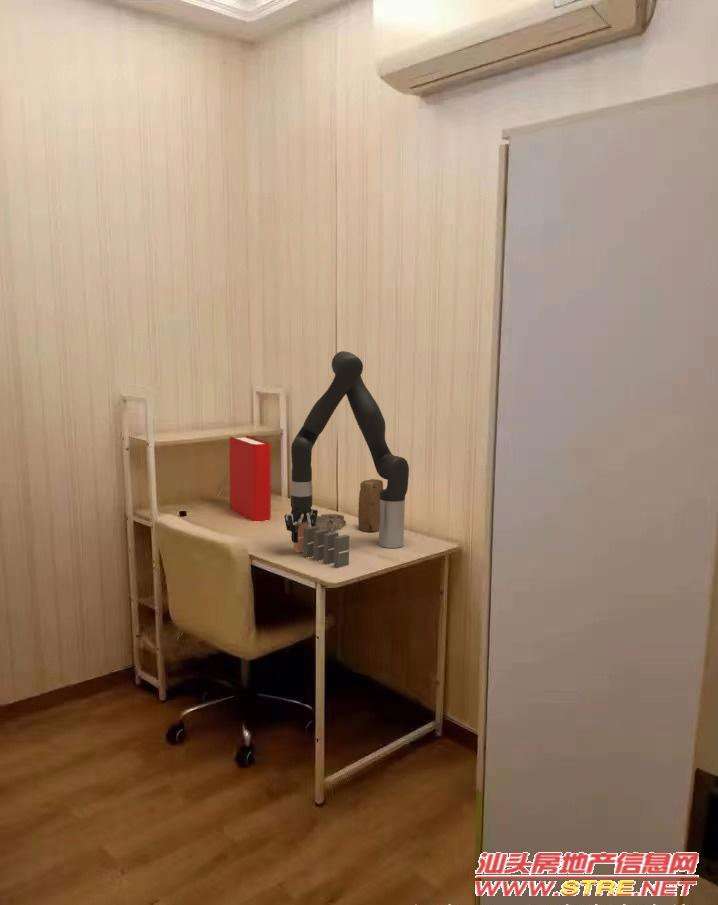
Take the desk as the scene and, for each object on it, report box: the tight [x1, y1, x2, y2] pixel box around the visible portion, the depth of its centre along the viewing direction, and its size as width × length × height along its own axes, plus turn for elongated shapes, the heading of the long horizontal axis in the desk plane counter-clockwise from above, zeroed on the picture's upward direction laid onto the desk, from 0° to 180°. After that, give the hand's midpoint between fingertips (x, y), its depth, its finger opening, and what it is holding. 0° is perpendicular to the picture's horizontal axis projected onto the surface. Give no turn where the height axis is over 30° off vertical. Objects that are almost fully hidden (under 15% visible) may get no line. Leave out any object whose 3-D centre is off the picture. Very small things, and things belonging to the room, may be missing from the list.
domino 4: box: [322, 531, 340, 565], centre depth 246 cm, size 2×5×10 cm, turn 136°
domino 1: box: [293, 522, 308, 553], centre depth 256 cm, size 2×5×10 cm, turn 137°
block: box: [357, 478, 384, 533], centre depth 290 cm, size 11×8×20 cm
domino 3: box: [312, 529, 328, 562], centre depth 250 cm, size 2×5×10 cm, turn 137°
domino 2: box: [302, 526, 318, 559], centre depth 253 cm, size 2×5×10 cm, turn 136°
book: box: [229, 435, 272, 522], centre depth 310 cm, size 27×8×32 cm, turn 31°
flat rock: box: [312, 513, 347, 533], centre depth 293 cm, size 14×5×20 cm
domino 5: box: [333, 534, 350, 568], centre depth 243 cm, size 2×5×10 cm, turn 137°
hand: (301, 540), depth 257 cm, fingers closed on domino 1, 5 cm apart
